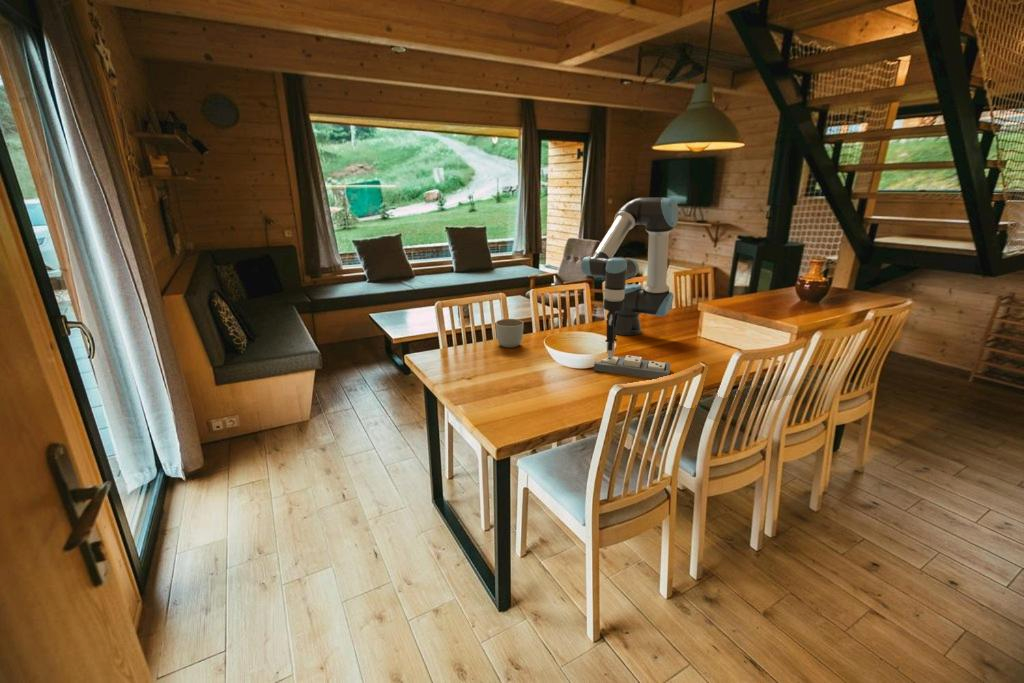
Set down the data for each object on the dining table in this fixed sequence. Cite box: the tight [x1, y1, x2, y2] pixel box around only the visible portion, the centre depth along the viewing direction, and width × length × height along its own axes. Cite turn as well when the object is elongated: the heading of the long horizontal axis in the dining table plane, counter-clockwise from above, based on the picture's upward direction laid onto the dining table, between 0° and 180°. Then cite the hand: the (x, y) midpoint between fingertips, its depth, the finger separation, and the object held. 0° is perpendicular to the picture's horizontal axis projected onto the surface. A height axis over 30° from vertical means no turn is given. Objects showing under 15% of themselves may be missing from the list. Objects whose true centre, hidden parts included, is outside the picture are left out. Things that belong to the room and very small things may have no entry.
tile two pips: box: [624, 354, 643, 367], centre depth 184 cm, size 6×6×3 cm
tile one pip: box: [601, 356, 619, 364], centre depth 188 cm, size 6×6×3 cm
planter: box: [495, 318, 524, 349], centre depth 213 cm, size 12×12×11 cm
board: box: [593, 355, 672, 380], centre depth 185 cm, size 11×28×3 cm, turn 69°
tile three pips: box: [648, 360, 666, 371], centre depth 182 cm, size 6×6×3 cm
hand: (609, 356), depth 187 cm, fingers closed
